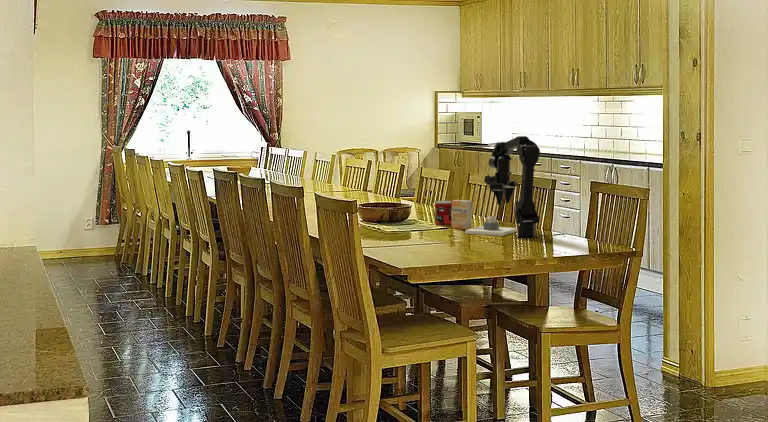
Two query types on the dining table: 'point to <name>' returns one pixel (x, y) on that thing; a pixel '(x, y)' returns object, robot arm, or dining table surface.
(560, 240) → the dining table surface
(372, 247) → the dining table surface
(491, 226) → the gunmetal ring
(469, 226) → the supplement box
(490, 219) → the steel pin
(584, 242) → the dining table surface
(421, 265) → the dining table surface
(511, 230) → the base plate
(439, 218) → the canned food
